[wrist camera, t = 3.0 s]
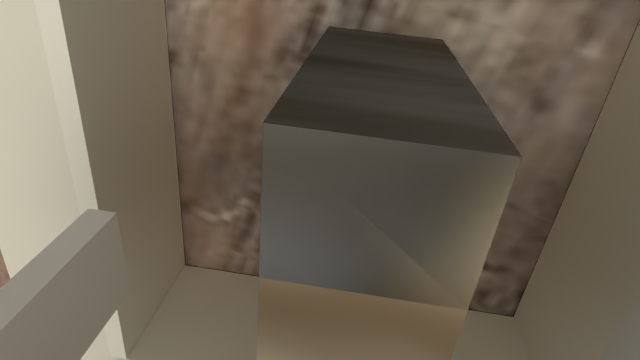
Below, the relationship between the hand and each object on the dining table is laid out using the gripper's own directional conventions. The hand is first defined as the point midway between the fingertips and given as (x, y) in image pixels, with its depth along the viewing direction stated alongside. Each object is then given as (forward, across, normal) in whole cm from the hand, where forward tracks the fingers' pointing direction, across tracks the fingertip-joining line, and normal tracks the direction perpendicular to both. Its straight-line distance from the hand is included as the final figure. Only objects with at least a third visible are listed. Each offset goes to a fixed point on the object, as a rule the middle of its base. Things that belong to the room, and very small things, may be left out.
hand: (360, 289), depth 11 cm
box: (+11, 0, +2) cm, 11 cm away
